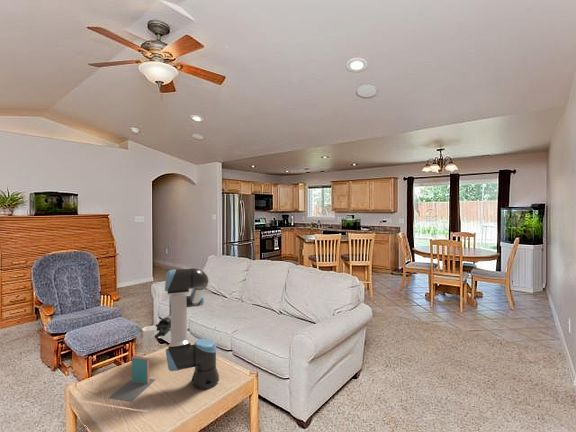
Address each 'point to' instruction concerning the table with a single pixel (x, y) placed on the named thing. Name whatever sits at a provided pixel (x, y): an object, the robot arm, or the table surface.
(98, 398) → the table surface
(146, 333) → the white cup
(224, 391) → the table surface
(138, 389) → the mat
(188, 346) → the robot arm
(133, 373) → the tile
